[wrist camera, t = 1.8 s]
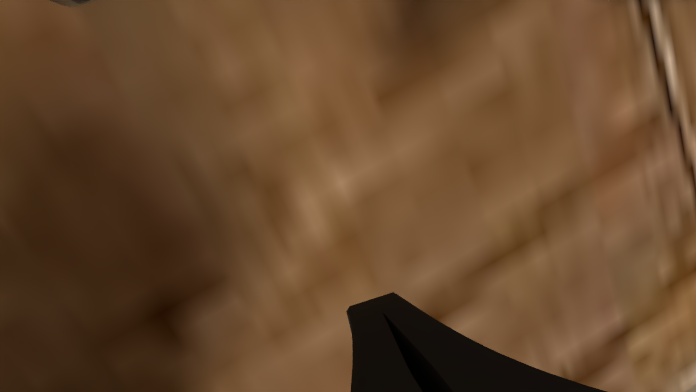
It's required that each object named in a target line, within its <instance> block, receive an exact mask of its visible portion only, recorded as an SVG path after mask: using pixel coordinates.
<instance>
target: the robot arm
mask: <svg viewBox="0 0 696 392" xmlns="http://www.w3.org/2000/svg"><path fill="white" fill-rule="evenodd" d="M347 315H348V320H349V324H350V328H351V332H352V341H353V368H352V382H351V392H606V391H603V390H599V389H596V388H593V387H589V386H586V385H583V384H580V383H577V382H574V381H571V380H568V379H565V378H562V377H559V376H556V375H553V374H550V373H547V372H544V371H542V370H539V369H536V368H534V367H531V366H529V365H526V364H524V363H521V362H519V361H517V360H514V359H512V358H509V357H507V356H505V355H502V354H500V353H498V352H496V351H493V350H491V349H489V348H487V347H485V346H483V345H481V344H479V343H477V342H475V341H473V340H471V339H469V338H467V337H465V336H464V335H462V334H460V333H458V332H456V331H455V330H453V329H451V328H449V327H448V326H446V325H444V324H443V323H441V322H439V321H437V320H436V319H434V318H433V317H431V316H429V315H428V314H426V313H425V312H423V311H421V310H420V309H418V308H417V307H415V306H414V305H412V304H411V303H409V302H408V301H406V300H405V299H403V298H402V297H400V296H399V295H397V294H395V293H394V292H393V293H390V294H387V295H383V296H380V297H377V298H374V299H371V300H368V301H365V302H362V303H359V304H356V305H352V306H350V307H349V308H348V310H347Z"/></svg>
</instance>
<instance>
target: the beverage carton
mask: <svg viewBox="0 0 696 392" xmlns="http://www.w3.org/2000/svg"><path fill="white" fill-rule="evenodd" d="M50 1H53V2H56V3H58V4H61V5H65V6H69V7H76V6H78V5H81V4H84V3H87V2H91V1H94V0H50Z"/></svg>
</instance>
